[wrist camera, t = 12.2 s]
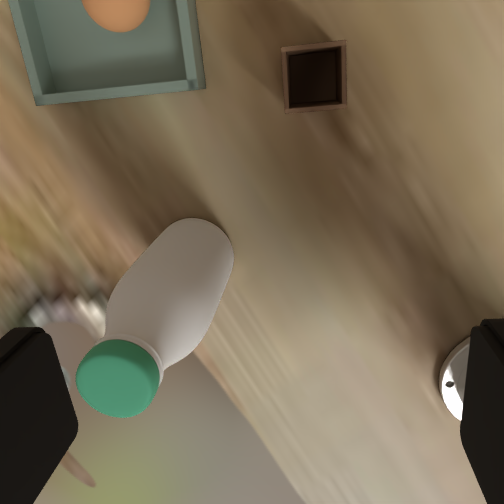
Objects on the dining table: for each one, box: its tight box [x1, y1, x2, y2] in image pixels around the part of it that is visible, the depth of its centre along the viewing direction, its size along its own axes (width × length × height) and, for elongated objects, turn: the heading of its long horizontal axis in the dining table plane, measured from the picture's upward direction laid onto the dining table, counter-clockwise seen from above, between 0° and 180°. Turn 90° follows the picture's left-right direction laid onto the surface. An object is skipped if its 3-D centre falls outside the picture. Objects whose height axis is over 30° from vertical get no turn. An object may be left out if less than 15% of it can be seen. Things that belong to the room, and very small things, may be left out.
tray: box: [8, 0, 206, 106], centre depth 33 cm, size 14×14×3 cm
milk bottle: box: [76, 218, 234, 418], centre depth 33 cm, size 8×8×20 cm
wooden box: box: [281, 40, 347, 114], centre depth 32 cm, size 4×4×7 cm
